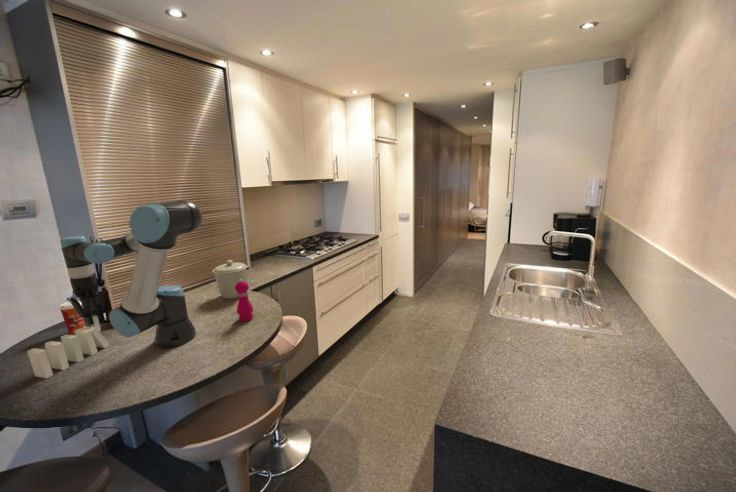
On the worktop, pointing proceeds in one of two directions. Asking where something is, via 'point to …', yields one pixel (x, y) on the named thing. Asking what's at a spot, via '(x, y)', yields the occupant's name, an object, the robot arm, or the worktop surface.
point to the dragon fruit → (110, 312)
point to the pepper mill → (243, 301)
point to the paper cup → (71, 317)
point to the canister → (229, 278)
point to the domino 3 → (72, 348)
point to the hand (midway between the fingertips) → (96, 330)
